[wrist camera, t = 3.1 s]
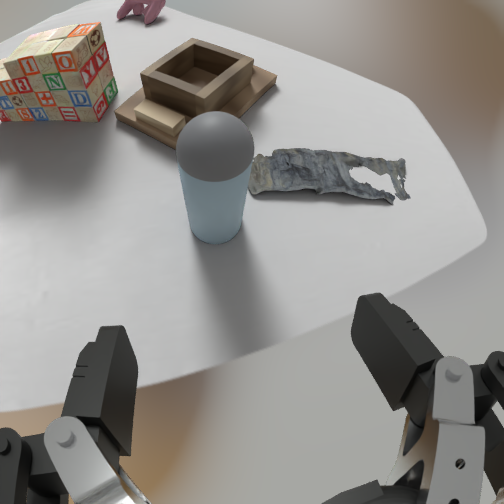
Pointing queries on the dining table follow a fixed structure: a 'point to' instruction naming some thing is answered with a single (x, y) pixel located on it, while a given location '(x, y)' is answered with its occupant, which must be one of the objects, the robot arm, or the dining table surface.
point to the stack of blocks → (58, 76)
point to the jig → (193, 89)
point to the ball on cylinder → (215, 174)
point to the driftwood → (322, 173)
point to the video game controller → (142, 9)
